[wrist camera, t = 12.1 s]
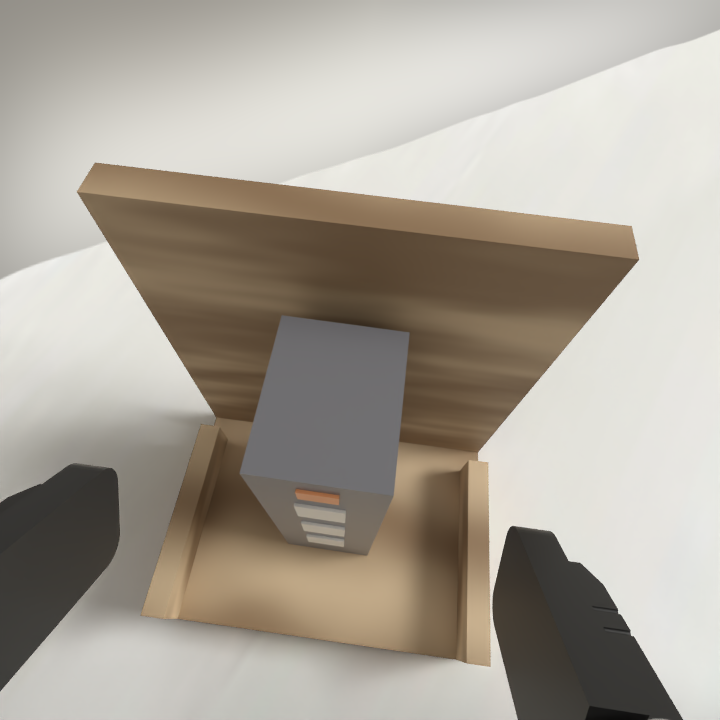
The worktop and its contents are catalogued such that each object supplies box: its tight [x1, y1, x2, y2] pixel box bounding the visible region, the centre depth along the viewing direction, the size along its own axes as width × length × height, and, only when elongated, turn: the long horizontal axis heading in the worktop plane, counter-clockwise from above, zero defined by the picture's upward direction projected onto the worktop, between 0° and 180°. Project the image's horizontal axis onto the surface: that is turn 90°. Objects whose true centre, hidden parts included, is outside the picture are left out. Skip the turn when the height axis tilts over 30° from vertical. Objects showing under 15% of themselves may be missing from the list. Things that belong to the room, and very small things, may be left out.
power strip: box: [240, 315, 410, 556], centre depth 19 cm, size 5×4×13 cm
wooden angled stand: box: [77, 163, 639, 667], centre depth 18 cm, size 11×15×18 cm
